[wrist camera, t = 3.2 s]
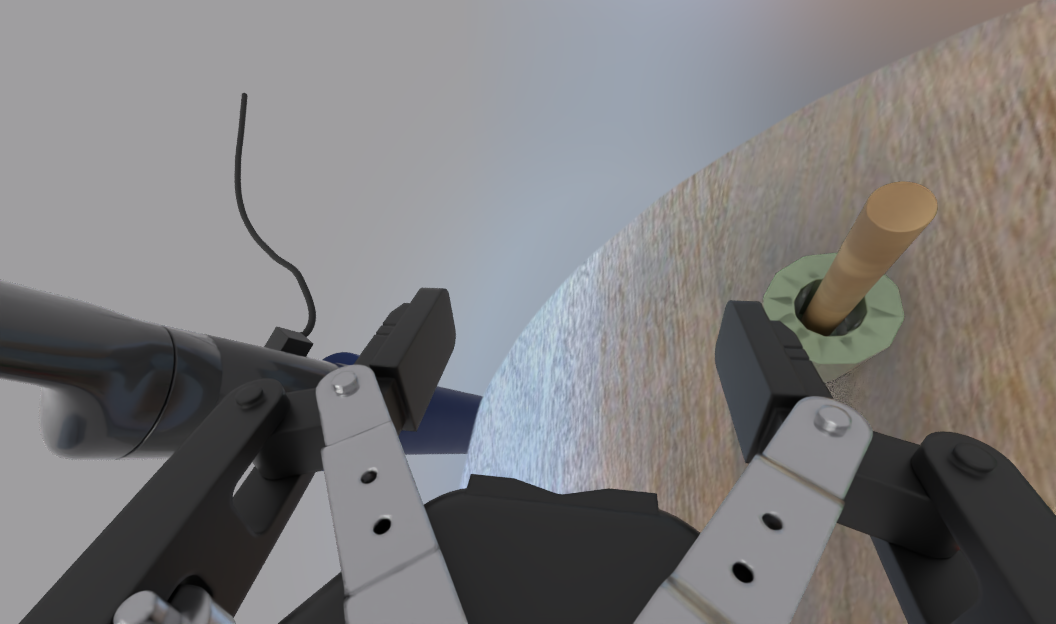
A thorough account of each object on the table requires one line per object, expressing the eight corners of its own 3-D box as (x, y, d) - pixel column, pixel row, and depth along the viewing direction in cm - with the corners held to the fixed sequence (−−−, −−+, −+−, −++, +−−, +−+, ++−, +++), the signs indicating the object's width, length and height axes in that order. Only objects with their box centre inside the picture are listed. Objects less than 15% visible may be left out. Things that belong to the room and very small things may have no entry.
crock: (740, 357, 32) (744, 331, 25) (780, 284, 32) (795, 238, 25) (834, 401, 29) (869, 385, 22) (877, 320, 29) (925, 278, 22)
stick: (788, 342, 30) (855, 221, 14) (800, 319, 30) (880, 174, 14) (816, 354, 29) (922, 239, 13) (829, 330, 29) (949, 189, 13)
